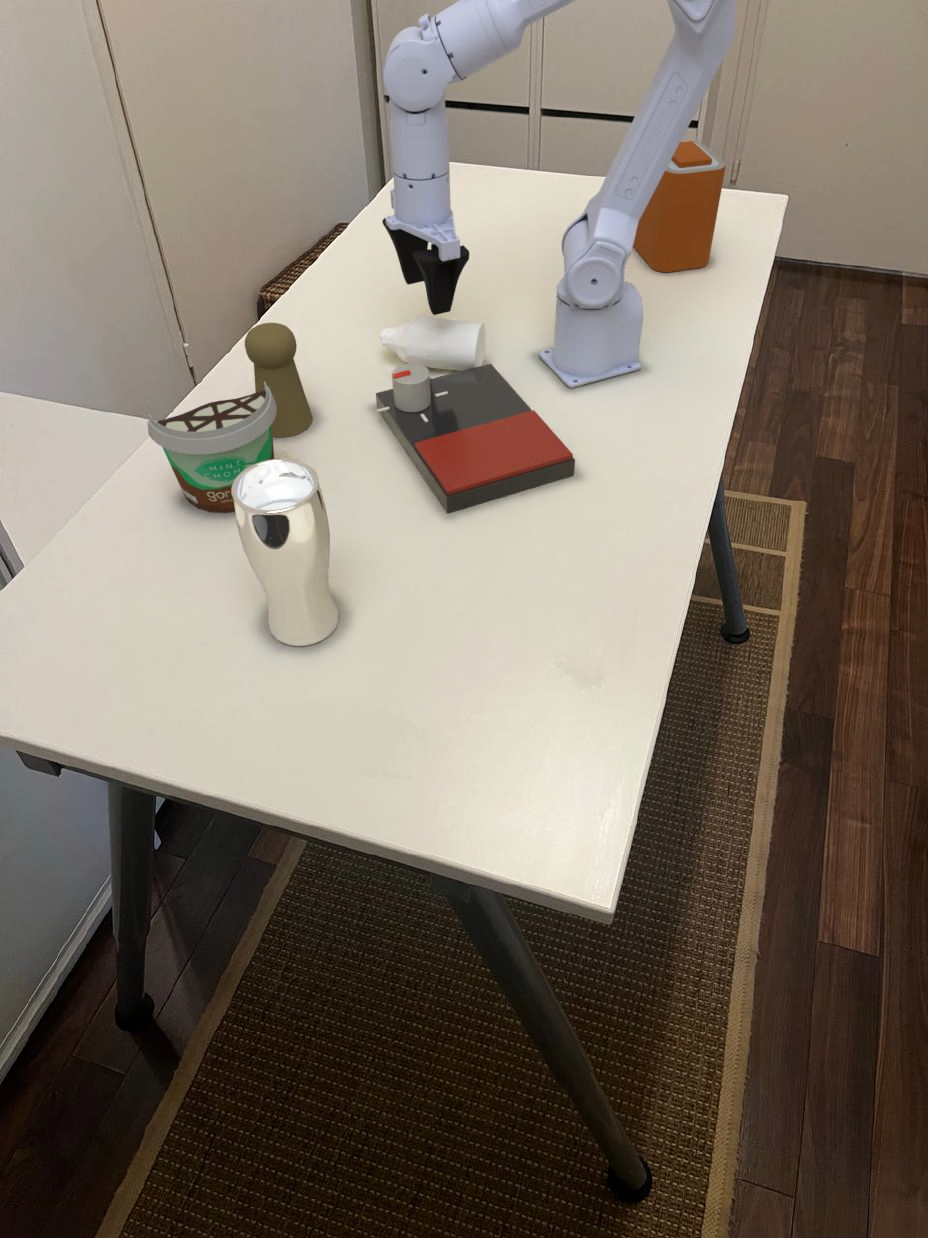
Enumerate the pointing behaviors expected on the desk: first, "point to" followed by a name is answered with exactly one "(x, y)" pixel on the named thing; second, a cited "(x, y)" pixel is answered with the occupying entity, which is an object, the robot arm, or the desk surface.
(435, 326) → the white bottle
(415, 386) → the hob knob
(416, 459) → the hob
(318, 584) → the beer glass
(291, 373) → the olive pawn
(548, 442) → the plate
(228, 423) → the food container
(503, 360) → the desk surface
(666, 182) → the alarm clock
